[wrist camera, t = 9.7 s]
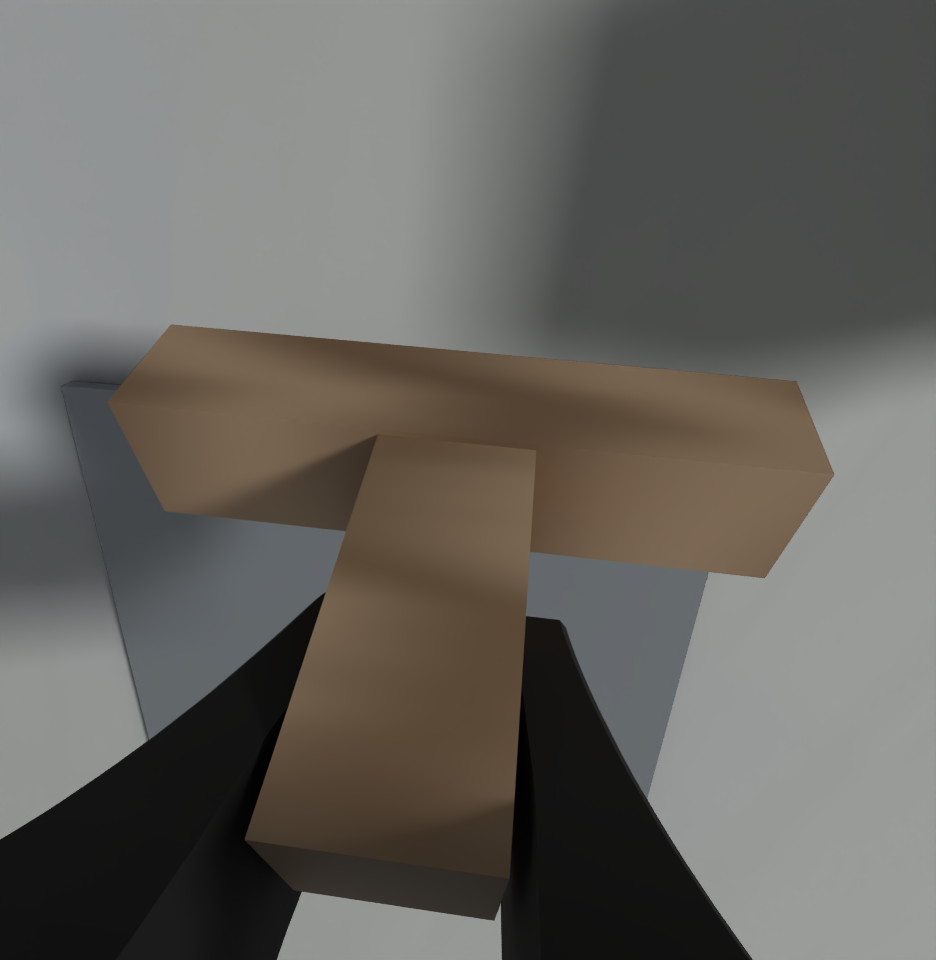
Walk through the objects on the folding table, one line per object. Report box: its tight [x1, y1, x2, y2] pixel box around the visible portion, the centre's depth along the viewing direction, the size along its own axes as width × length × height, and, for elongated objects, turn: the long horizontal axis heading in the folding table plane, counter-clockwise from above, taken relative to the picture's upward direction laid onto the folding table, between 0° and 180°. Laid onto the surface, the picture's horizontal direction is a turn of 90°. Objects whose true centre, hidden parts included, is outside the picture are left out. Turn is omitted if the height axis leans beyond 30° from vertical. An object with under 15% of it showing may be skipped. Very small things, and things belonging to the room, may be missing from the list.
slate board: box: [61, 381, 708, 798], centre depth 23 cm, size 20×22×1 cm
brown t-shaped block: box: [107, 325, 834, 921], centre depth 8 cm, size 10×2×7 cm, turn 86°
